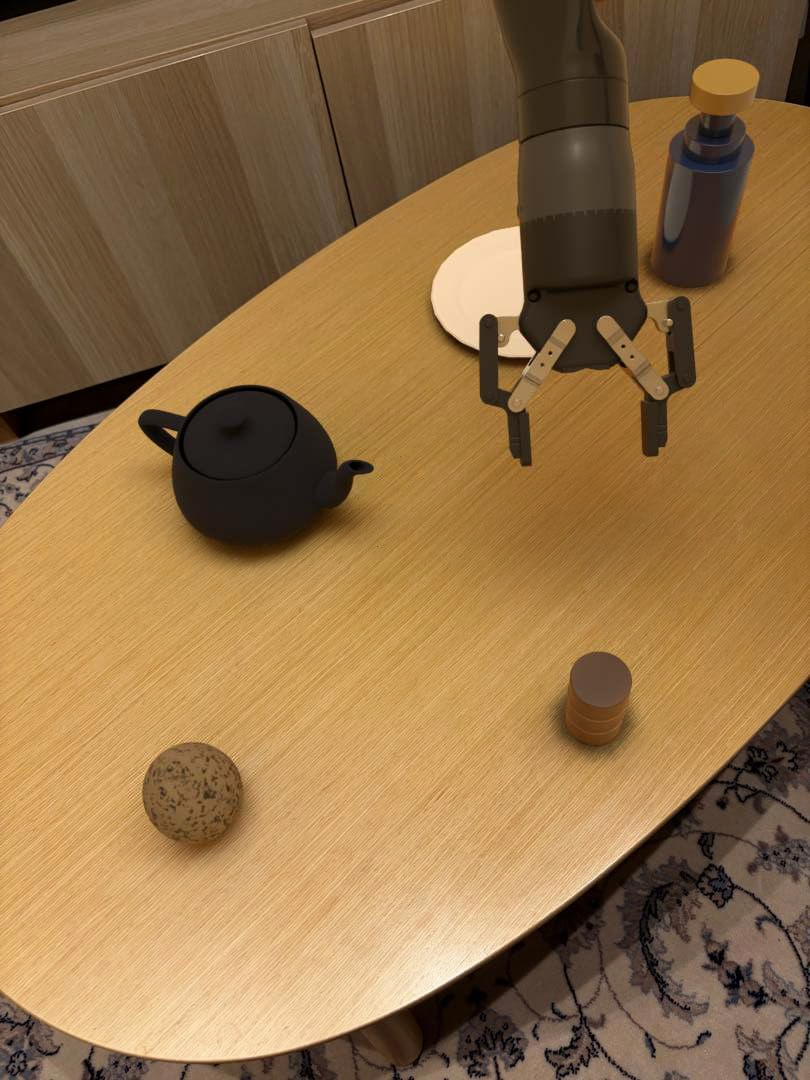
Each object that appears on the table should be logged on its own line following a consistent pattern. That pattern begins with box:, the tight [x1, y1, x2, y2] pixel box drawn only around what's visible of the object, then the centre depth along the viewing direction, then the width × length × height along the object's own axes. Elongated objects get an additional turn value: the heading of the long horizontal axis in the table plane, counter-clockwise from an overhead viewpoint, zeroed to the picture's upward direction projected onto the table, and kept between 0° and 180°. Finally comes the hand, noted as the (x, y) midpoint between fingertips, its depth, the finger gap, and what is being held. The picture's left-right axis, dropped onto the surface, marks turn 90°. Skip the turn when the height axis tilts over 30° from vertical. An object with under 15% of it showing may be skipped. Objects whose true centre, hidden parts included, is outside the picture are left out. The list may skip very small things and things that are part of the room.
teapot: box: [137, 384, 375, 548], centre depth 80 cm, size 25×16×12 cm, turn 67°
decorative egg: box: [141, 741, 244, 845], centre depth 64 cm, size 7×7×10 cm
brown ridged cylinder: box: [564, 650, 633, 746], centre depth 66 cm, size 4×4×8 cm
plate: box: [430, 225, 535, 359], centre depth 95 cm, size 21×21×2 cm
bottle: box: [650, 58, 760, 289], centre depth 87 cm, size 8×8×21 cm
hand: (588, 460), depth 60 cm, fingers open, 8 cm apart
